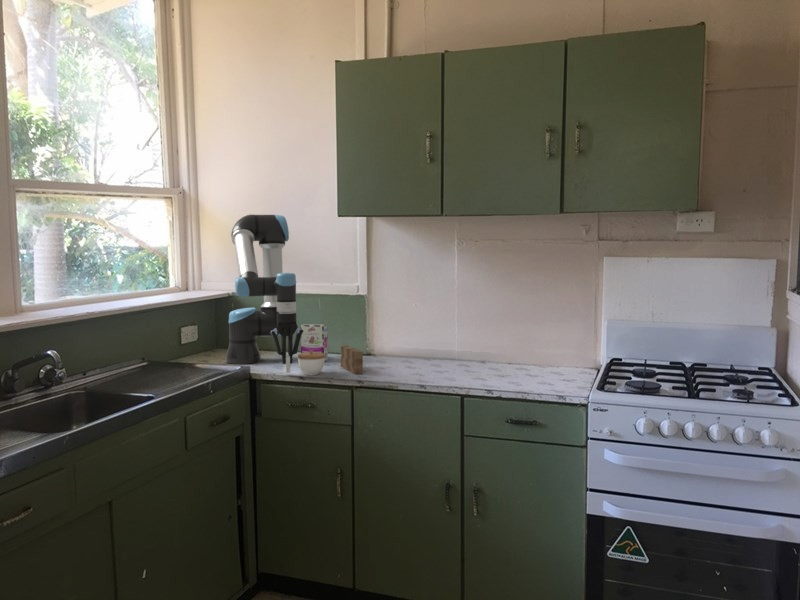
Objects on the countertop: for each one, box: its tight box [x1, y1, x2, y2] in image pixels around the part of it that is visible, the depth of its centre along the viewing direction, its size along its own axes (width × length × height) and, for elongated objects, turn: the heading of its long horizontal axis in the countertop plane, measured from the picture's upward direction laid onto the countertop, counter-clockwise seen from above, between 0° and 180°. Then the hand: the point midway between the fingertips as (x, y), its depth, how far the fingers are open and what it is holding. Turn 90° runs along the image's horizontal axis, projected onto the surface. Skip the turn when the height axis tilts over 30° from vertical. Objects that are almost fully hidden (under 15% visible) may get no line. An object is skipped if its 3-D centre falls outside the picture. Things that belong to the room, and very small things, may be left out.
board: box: [340, 344, 364, 375], centre depth 266 cm, size 18×3×9 cm, turn 24°
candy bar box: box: [300, 323, 329, 363], centre depth 287 cm, size 11×5×16 cm, turn 73°
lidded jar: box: [297, 350, 325, 376], centre depth 259 cm, size 11×11×9 cm
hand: (287, 371), depth 256 cm, fingers closed
